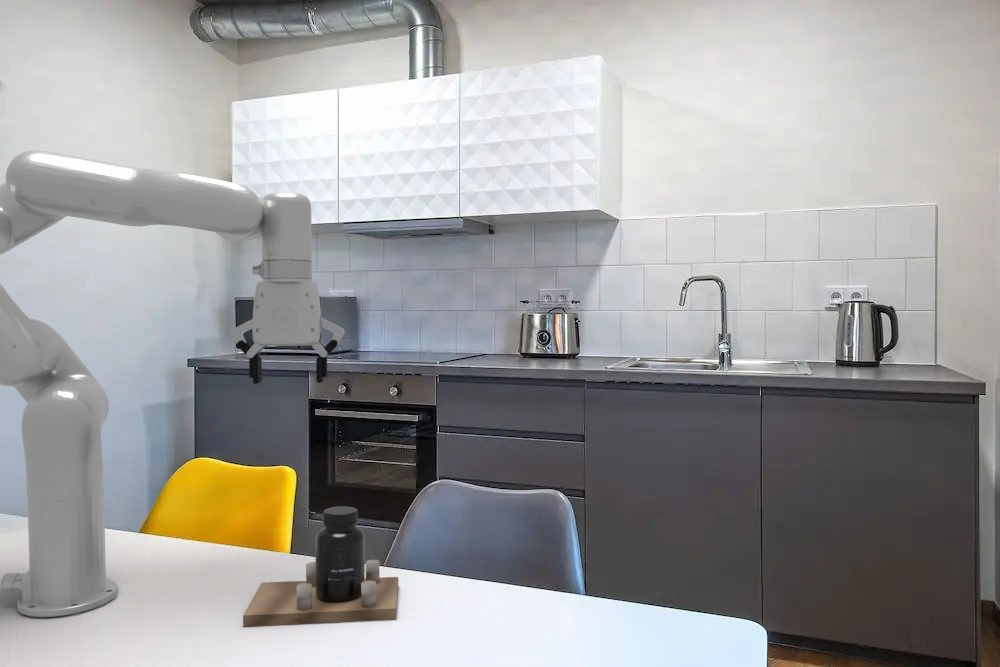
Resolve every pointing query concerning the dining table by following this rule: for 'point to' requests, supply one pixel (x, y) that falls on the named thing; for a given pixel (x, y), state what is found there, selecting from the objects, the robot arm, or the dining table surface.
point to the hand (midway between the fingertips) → (288, 382)
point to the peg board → (322, 601)
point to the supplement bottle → (340, 556)
